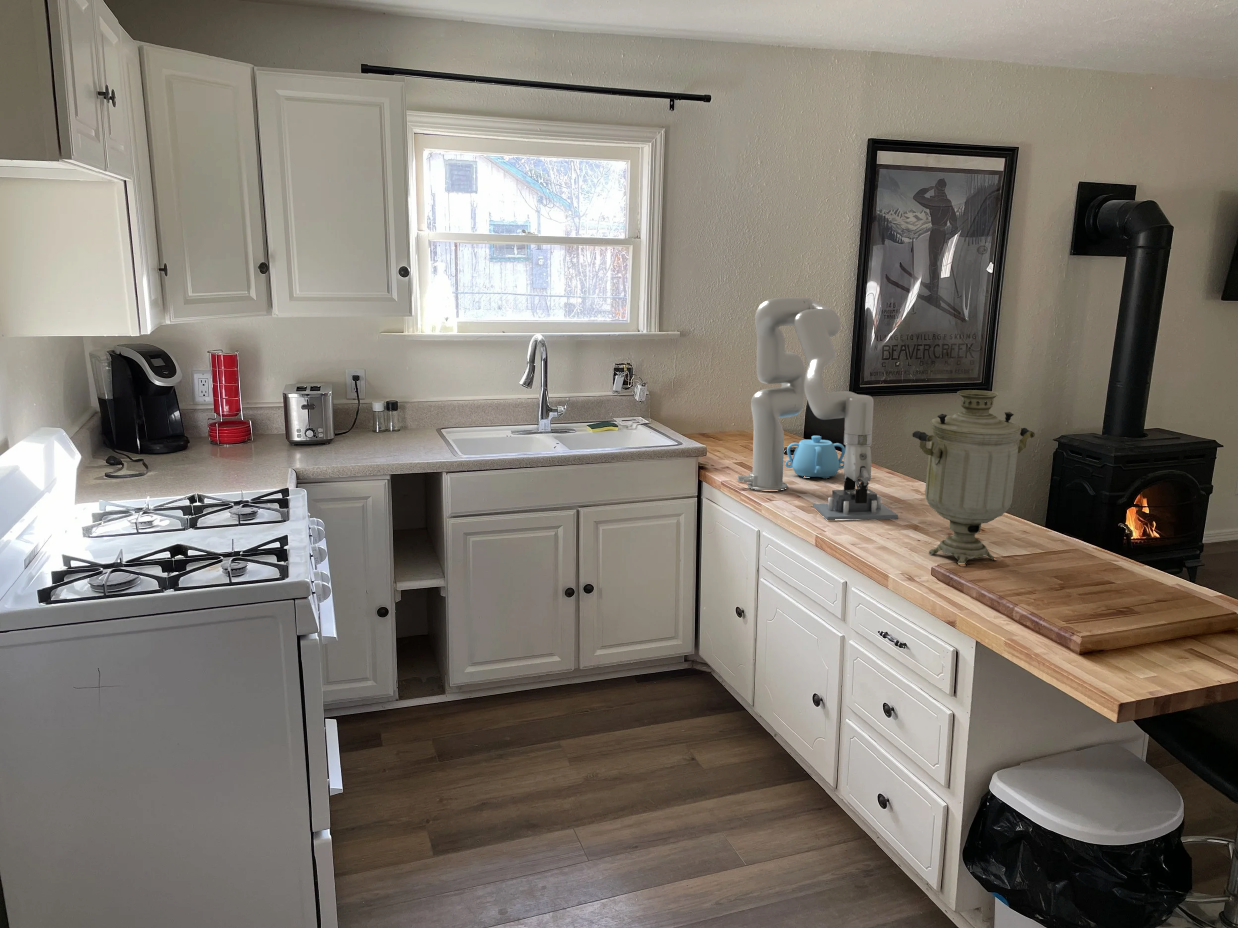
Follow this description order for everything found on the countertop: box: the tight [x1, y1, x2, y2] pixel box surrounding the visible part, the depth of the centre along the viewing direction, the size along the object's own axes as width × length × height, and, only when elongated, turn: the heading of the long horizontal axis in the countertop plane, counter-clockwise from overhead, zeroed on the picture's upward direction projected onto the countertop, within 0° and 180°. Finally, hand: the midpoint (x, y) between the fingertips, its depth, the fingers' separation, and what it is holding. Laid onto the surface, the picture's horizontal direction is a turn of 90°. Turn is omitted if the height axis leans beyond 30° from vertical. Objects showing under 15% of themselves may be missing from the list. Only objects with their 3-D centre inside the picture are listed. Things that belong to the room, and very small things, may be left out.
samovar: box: [911, 389, 1036, 564], centre depth 219 cm, size 30×26×40 cm
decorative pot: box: [784, 435, 846, 479], centre depth 306 cm, size 16×16×14 cm
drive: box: [831, 488, 878, 512], centre depth 259 cm, size 11×6×5 cm, turn 95°
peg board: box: [812, 495, 899, 521], centre depth 260 cm, size 20×14×5 cm
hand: (854, 498), depth 259 cm, fingers open, 9 cm apart
